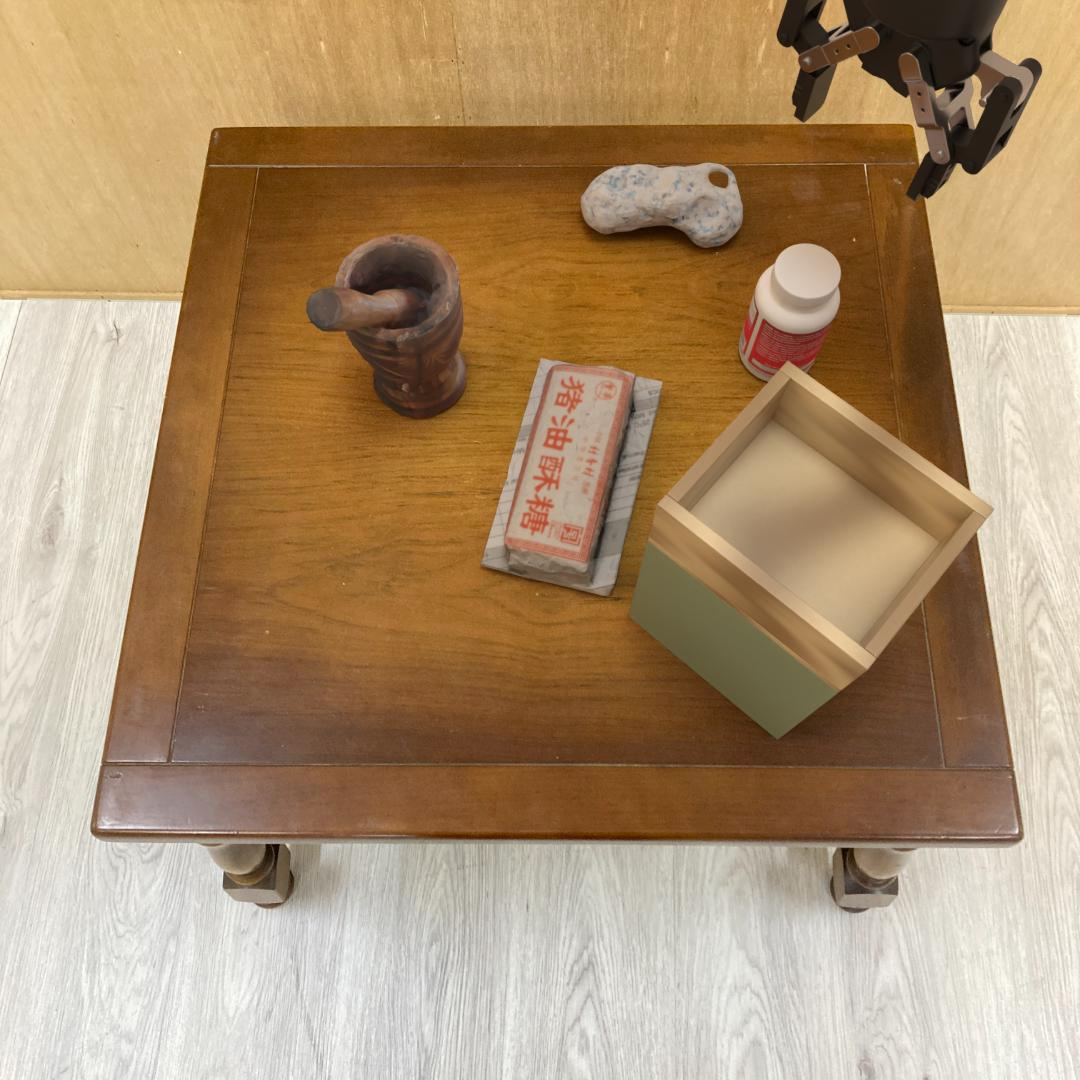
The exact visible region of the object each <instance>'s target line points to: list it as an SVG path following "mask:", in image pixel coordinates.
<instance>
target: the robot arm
mask: <svg viewBox="0 0 1080 1080" xmlns="http://www.w3.org/2000/svg"><path fill="white" fill-rule="evenodd" d="M1008 1H1009V0H842V3H843V6H844V7H843V8H844V10H845V14H846V18H847V20H846V21H844V22H842V23H840V24H838V25H836V26H834V27H832V28H830V29H828V30H826V29H825V28H824V27H823V25H822V24H821V23H820V20H821V17H822V15H823V13H824V9H825V6H826V5H827V2H828V0H786V2H785V5H784V9H783V12H782V15H781V18H780V21H779V23H778V27H777V30H776V34H775V35H776V39H777V41H778V43H779V44H780V45H781V46H782V47H784V48H786V49H788V48H791V47H792V48H793V50H794V51H795V52H796V53H797V55H798V58H797V61H798V65H799V70H798V74H797V77H796V81H795V84H794V87H793V91H792V94H791V103H792V105H793V106H794V107H795V110H794V113H793V117H794V118H795V119H797V120H798V121H800V122H801V123H803V124H804V123H806V122H807V121H808V120H809V119H810V118H812V117H813V116H814V115H815V114H816V113H818V112H819V110H821V108H822V107H823V106H824V104H825V102H826V99H827V97H828V94H829V91H830V88H831V85H832V82H833V79H834V76H835V73H836V70H837V68H838V65H839V63H841V62H844V61H846V60H849V59H851V58H853V57H856V56H857V58H858V60H859V61H860V62H861V66H860V68H861V69H862V70H863V71H865V72H866V73H867V74H870V76H873V77H875V78H878V79H880V80H883V81H885V82H886V83H887V85H888V86H890V88H891V89H892V90H893V91H894V92H896V93H897V94H899V95H900V96H902V97H903V98H904V99H907V98H910V103H911V107H912V112H913V115H914V120H915V124H916V126H917V127H918V128H919V129H922V128H923V130H924V133H925V138H926V141H927V145H928V151H927V152H926V153H925V154H924V156H923V158H922V160H921V162H920V164H919V166H918V168H917V170H916V172H915V174H914V177H913V179H912V180H911V182H910V185H909V186H908V189H907V190H906V192H905V196H906V197H907V198H909V199H910V200H912V201H913V202H915V203H916V202H917V201H919V200H920V199H921V198H922V197H924V198H925V199H926V200H928V199H930V198H932V197H933V196H934V195H936V193H937V192H938V191H939V190H940V189H941V188H942V187H943V186H944V185H945V184H947V183H948V181H949V179H950V177H951V175H952V174H953V172H954V170H955V168H956V166H957V165H959V164H960V166H961V168H962V170H963V171H964V172H965V173H966V174H968V175H972V176H974V175H978V174H979V173H980V172H981V171H982V170H984V168H985V167H987V165H988V164H990V163H991V162H992V161H993V160H994V158H995V157H997V155H999V153H1001V152H1002V151H1003V150H1004V149H1005V148H1006V146H1007V145H1008V143H1009V141H1010V138H1011V136H1012V135H1013V132H1014V131H1015V129H1016V127H1017V124H1018V122H1019V120H1020V118H1021V117H1022V115H1023V113H1024V110H1025V109H1026V106H1027V104H1028V102H1029V101H1030V98H1031V96H1032V94H1033V92H1034V90H1035V88H1036V86H1037V84H1038V82H1039V80H1040V78H1041V76H1042V75H1043V66H1042V64H1041V63H1040V61H1039V60H1037V59H1036V58H1033V57H1025V58H1024V59H1023V60H1022V61H1021V62H1019V63H1018V64H1016V63H1014V62H1012V61H1011V60H1009V59H1007V58H1006V57H1004V56H1002V55H1000V54H999V53H996V52H995V51H993V45H994V44H993V35H994V28H995V26H996V24H997V22H998V21H999V19H1000V16H1001V15H1002V13H1003V11H1004V9H1005V7H1006V5H1007V2H1008ZM973 76H975V77H977V78H978V79H979V82H980V84H981V88H980V99H978V105H979V107H981V108H983V111H982V113H981V115H980V117H979V120H978V122H977V124H976V126H975V122H974V117H973V112H972V107H971V101H972V98H973V96H974V84H973V79H972V77H973ZM942 89H943V91H942V92H941V93H940V95H938V96H937V94H936V92H938V91H940V90H942Z"/></svg>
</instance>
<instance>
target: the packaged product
mask: <svg viewBox="0 0 1080 1080" xmlns="http://www.w3.org/2000/svg"><path fill="white" fill-rule="evenodd" d="M662 387H663V381H661V380H657V379H653V378H648V377H643V376H642V377H641V376H637V375H636V373H635V372H630V371H628V370H623V369H621V368H618V367H616V366H613V365H595V366H594V365H580V364H575V363H570V362H566V361H560V360H551V359H547V358H543V357H540V361H539V364H538V368H537V371H536V373H535V376H534V380H533V383H532V386H531V390H530V393H529V397H528V401H527V404H526V408H525V411H524V414H523V416H522V417H523V418H522V421H521V424H520V428H519V431H518V434H517V438H516V442H515V445H514V449H513V452H512V455H511V458H510V462H509V465H508V470H507V476H506V479H505V481H504V484H503V488H502V491H501V493H500V496H499V499H498V502H497V503H498V504H497V506H496V511H495V515H494V518H493V521H492V525H491V529H490V531H489V535H488V539H487V542H486V546H485V548H484V552H483V554H482V560H481V562H480V566H482V567H485V568H487V569H488V568H490V569H493V570H496V571H500V572H503V573H506V574H507V573H508V574H511V575H515V576H518V577H522V578H526V579H531V580H535V581H539V582H544V583H547V584H552V585H557V586H561V587H566V588H570V589H574V590H577V591H583V592H586V593H590V594H595V595H597V596H598V595H599V596H603V597H609V596H610V594H611V593H612V590H613V589H614V587H615V585H616V580H617V577H618V572H619V567H620V563H621V557H622V552H623V549H624V545H625V541H626V537H627V535H628V534H627V533H628V530H629V527H630V523H631V520H632V515H633V510H634V505H635V500H636V497H637V493H638V490H639V486H640V482H641V479H642V474H643V471H644V468H645V467H644V466H645V463H646V458H647V453H648V449H649V445H650V442H651V438H652V433H653V429H654V426H655V422H656V418H657V414H658V411H659V406H660V400H661V395H662V389H663V388H662Z"/></svg>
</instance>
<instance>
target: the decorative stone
mask: <svg viewBox="0 0 1080 1080" xmlns="http://www.w3.org/2000/svg"><path fill="white" fill-rule="evenodd" d="M715 172H719V173H723V174H724V175H726V176H727V177H728V178H727V181H728V183H727V186H726V187H725V188H724V187H719V186H717V185H715V184H713V183H712V182H711V181H710V179H709V176H710V175H711V174H712V173H715ZM740 194H741V193H740V191H739V187H738V183H737V179H736V176H735V174H734V172H733V171H732V170H730V169H729V168H728V167H726V166H725V165H722V164H721V163H715V162H704V163H699V164H695V165H686V166H683V165H670V166H665V167H658V166H656V165H651V164H645V163H635V164H631V165H618V166H613V167H611V168H609V169H606V170H605V171H604V172H602V173H601V174H599V175H598V176H596V177H595V178H594V179H593V180H591V182H590V183H589V185H588V187H587V188H586V190H585V191H584V192H583V193H582V195H581V197H580V208H581V214H582V217H583V220H584V221H585V223H586V224H587V225H588V226H589V227H590V228H592V229H593V230H594V231H596V232H597V233H599V234H603V235H610V234H614V233H620V232H621V233H623V232H624V233H625V232H632V231H634V230H638V229H641V228H647V227H648V228H649V227H656V226H657V227H658V226H665V227H666V226H667V227H673V228H674V229H677V230H679V231H681V232H683V233H684V234H686V235H687V237H688V238H689V239H690V240H691V242H692V243H693V244H695V245H696V246H698V247H700V248H705V249H707V248H713V247H720V246H723V245H724V244H726V243H727V242H729V241H730V239H731V238H733V237H734V236H735V235H736V234H737V232H738V231H739V230H740V228H741V226H742V224H743V220H744V216H743V215H744V205H743V201H742V200H741V199H742V197H741V195H740Z"/></svg>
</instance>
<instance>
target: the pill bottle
mask: <svg viewBox="0 0 1080 1080" xmlns="http://www.w3.org/2000/svg"><path fill="white" fill-rule="evenodd" d="M841 271H842V270H841V265H840V263H839V261H838V259H837V258H836V257H835V255H834V254H833V253H831V252H830V251H829V250H828V249H826V248H825V247H822V246H821V245H818V244H814V243H798V244H793V245H790V246H788V247H787V248H785V249H784V250H783V251H781V252H780V253H779V255H778V256H777V258H776V259H775V261H774V263H773V264H772V265H770V266H769V267H768V268H766V269H765V270H764V271H763V272H762V274H761V276H760V277H759V279H758V280H757V283H756V285H755V288H754V291H753V295H752V299H751V301H750V304H749V307H748V311H747V314H746V317H745V321H744V324H743V327H742V329H741V333H740V336H739V340H738V354H739V357H740V359H741V362H742V363H743V366H744V367H745V368H746V370H748V371H749V373H751V374H752V375H753V376H755V377H756V378H758V379H760V380H762V381H765V382H767V383H768V382H769V381H770V380H771V378H772V377H773V376H774V375H775V374H776V373H777V372H778V371H779V370H780V369H781V367H782V366H783V365H784V364H785V363H786V362H787V361H789V362H791V363H792V364H793V365H795V366H796V367H798V368H799V369H800V370H802V371H803V372H805V373H806V374H807V373H808V371H809V370H810V369H811V368H812V366H813V365H814V363H815V360H816V358H817V356H818V354H819V352H820V350H821V348H822V346H823V343H824V341H825V340H826V338H827V335H828V333H829V330H830V328H831V326H832V324H833V322H834V320H835V318H836V315H837V313H838V310H839V307H840V303H841V302H840V301H841V291H840V288H839V285H840V282H841V276H842V272H841Z"/></svg>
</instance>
